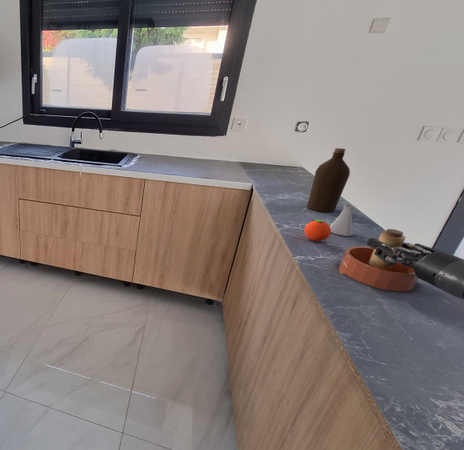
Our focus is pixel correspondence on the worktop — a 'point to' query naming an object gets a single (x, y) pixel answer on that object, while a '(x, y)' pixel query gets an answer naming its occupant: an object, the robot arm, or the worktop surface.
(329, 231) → the clementine
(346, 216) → the flask
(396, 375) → the worktop surface
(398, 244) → the pepper mill
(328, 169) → the olive oil
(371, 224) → the worktop surface
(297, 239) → the worktop surface
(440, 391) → the worktop surface
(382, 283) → the pot
